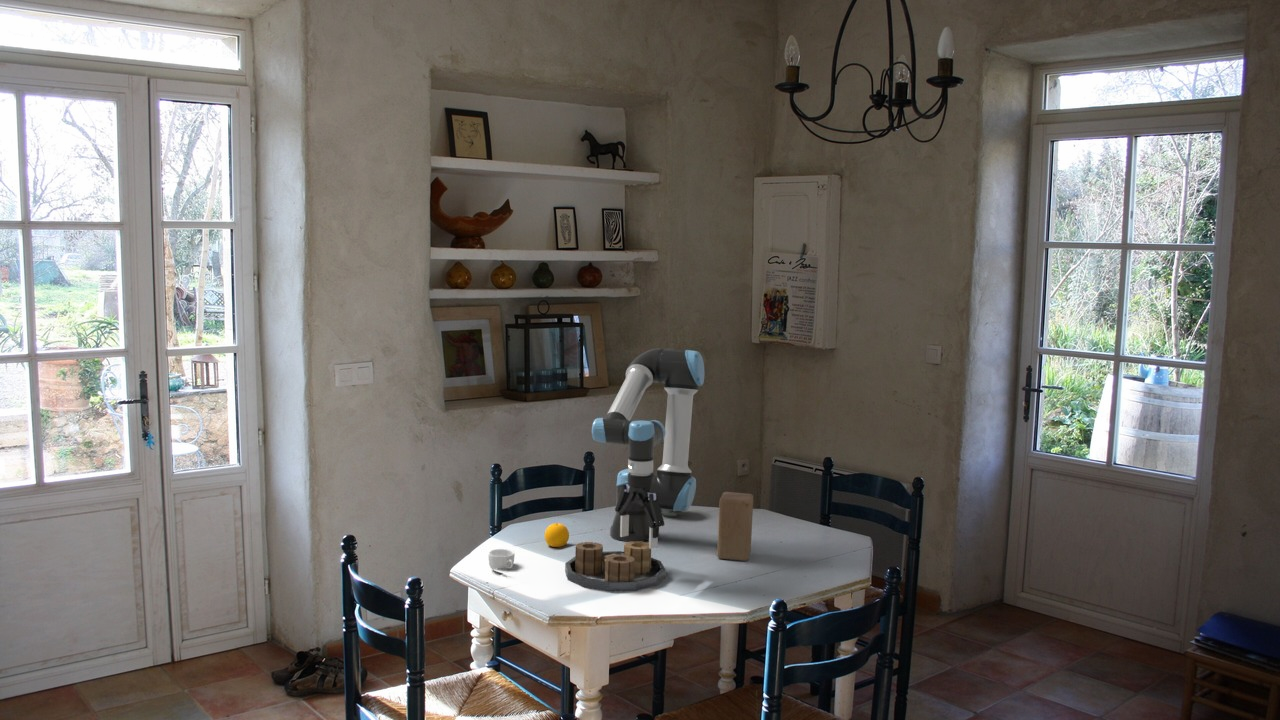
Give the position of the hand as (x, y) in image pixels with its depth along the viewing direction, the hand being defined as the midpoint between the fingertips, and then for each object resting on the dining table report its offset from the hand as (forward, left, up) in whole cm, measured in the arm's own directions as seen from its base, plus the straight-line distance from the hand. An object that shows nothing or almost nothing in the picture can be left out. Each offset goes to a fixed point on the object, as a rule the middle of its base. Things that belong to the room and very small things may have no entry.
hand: (638, 541), depth 296 cm
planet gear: (0, 0, -8) cm, 8 cm away
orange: (-37, -4, -10) cm, 38 cm away
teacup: (-25, -32, -10) cm, 42 cm away
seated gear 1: (-7, -13, -8) cm, 17 cm away
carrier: (0, -9, -10) cm, 13 cm away
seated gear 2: (+8, -13, -8) cm, 17 cm away
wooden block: (+4, +37, -10) cm, 39 cm away
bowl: (-45, +53, -10) cm, 70 cm away
